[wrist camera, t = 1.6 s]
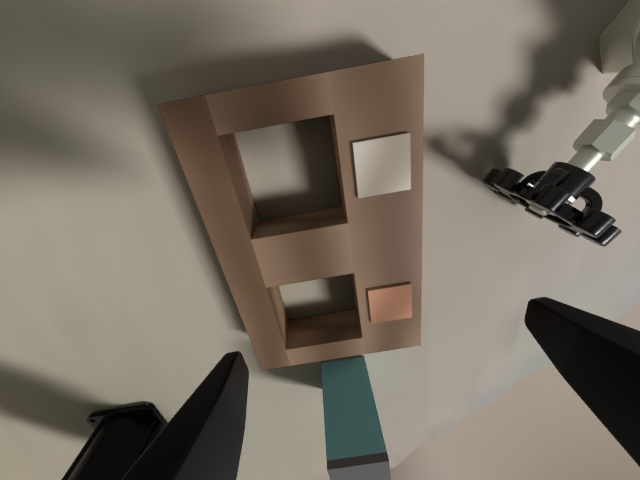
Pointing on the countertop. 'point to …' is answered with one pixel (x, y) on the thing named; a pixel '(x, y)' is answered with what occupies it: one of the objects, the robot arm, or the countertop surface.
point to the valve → (587, 143)
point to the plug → (352, 423)
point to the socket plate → (321, 225)
